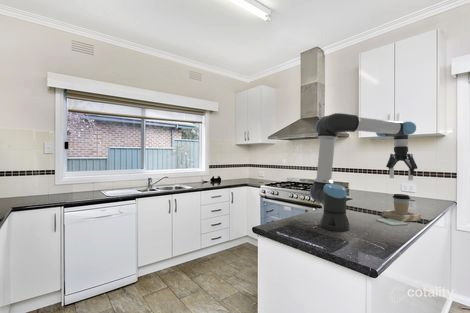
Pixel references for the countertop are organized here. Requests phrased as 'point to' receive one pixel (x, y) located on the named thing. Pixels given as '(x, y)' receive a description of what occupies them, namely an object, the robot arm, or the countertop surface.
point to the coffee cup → (401, 204)
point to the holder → (403, 218)
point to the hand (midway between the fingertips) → (400, 179)
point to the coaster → (392, 222)
